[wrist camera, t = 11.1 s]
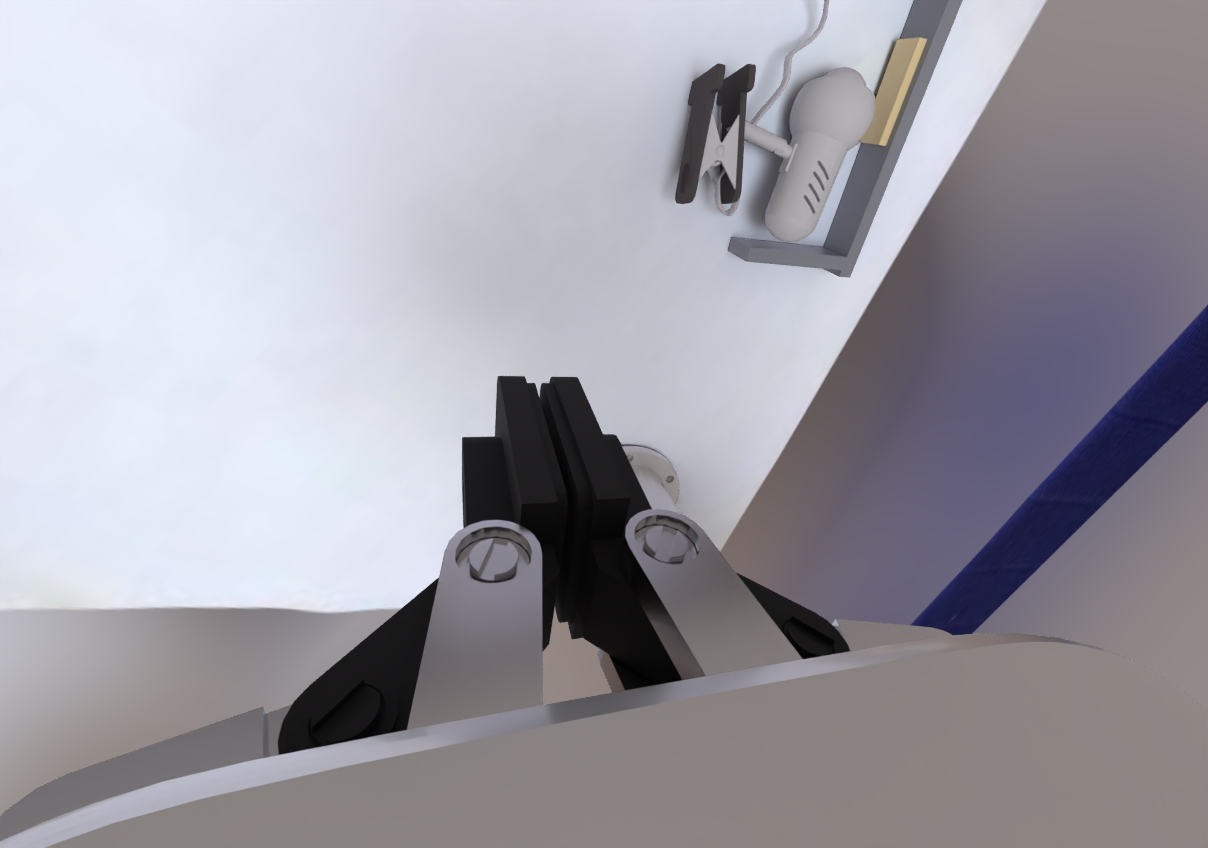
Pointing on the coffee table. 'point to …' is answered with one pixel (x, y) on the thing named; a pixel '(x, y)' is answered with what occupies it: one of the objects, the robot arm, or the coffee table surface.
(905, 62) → the grey u-shaped handle
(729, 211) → the clip-on lamp
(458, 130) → the coffee table surface
